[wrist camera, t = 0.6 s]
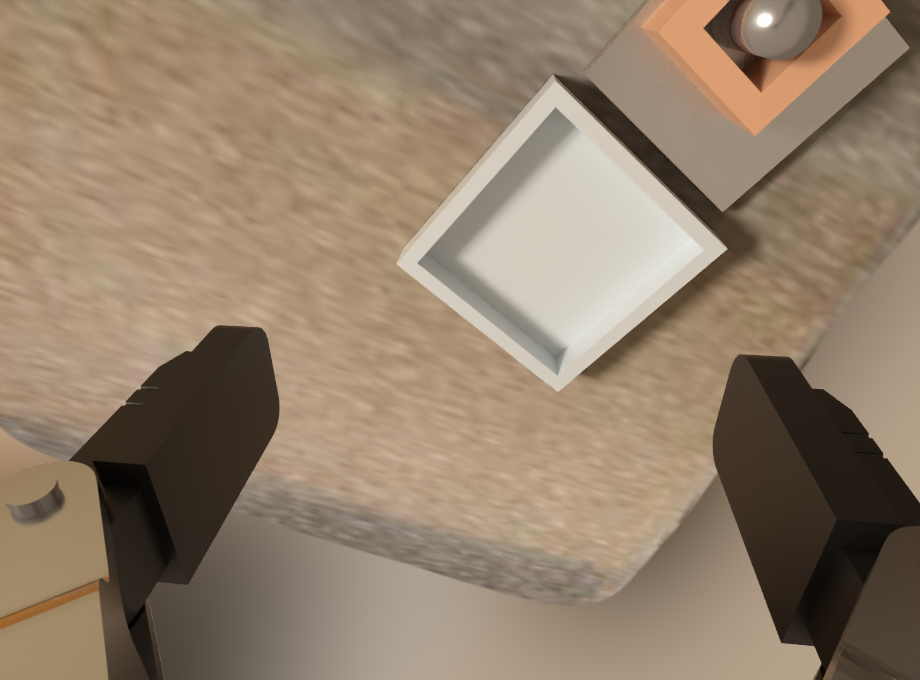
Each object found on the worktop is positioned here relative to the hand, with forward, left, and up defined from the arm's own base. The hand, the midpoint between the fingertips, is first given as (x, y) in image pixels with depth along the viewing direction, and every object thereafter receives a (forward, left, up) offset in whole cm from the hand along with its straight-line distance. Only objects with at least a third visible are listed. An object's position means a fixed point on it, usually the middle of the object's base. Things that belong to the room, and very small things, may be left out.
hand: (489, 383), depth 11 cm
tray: (+3, +6, -24) cm, 24 cm away
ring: (-10, +4, -23) cm, 25 cm away
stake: (-9, +6, -24) cm, 26 cm away
